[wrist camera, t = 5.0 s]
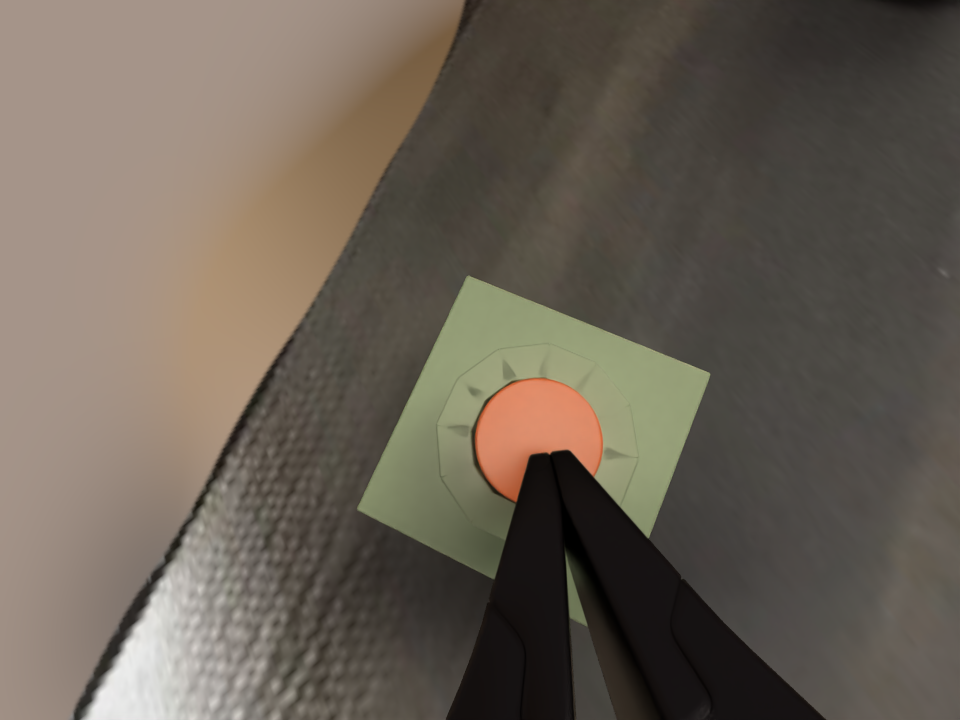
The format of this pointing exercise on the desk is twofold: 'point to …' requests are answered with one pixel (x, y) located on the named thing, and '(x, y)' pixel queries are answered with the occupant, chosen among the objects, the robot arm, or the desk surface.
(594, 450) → the orange cylinder cap
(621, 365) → the green push button box
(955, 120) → the desk surface
